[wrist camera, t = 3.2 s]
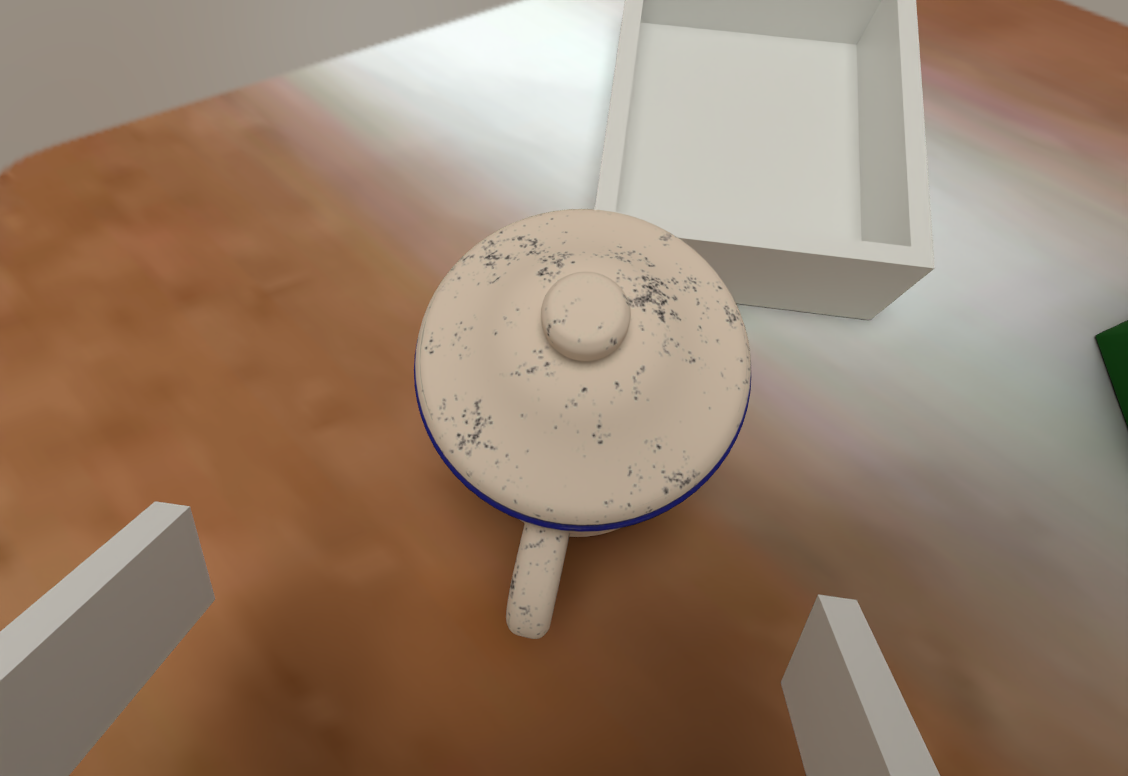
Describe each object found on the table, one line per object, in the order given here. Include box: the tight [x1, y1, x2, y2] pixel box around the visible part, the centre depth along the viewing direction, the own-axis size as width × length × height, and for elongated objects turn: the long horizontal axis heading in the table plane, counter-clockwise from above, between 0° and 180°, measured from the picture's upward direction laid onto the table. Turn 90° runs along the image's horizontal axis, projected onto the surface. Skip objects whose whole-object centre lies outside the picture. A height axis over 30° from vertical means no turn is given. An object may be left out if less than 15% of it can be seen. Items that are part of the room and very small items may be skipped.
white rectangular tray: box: [594, 0, 935, 320], centre depth 25 cm, size 13×16×4 cm
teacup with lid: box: [414, 209, 751, 639], centre depth 17 cm, size 12×9×12 cm
